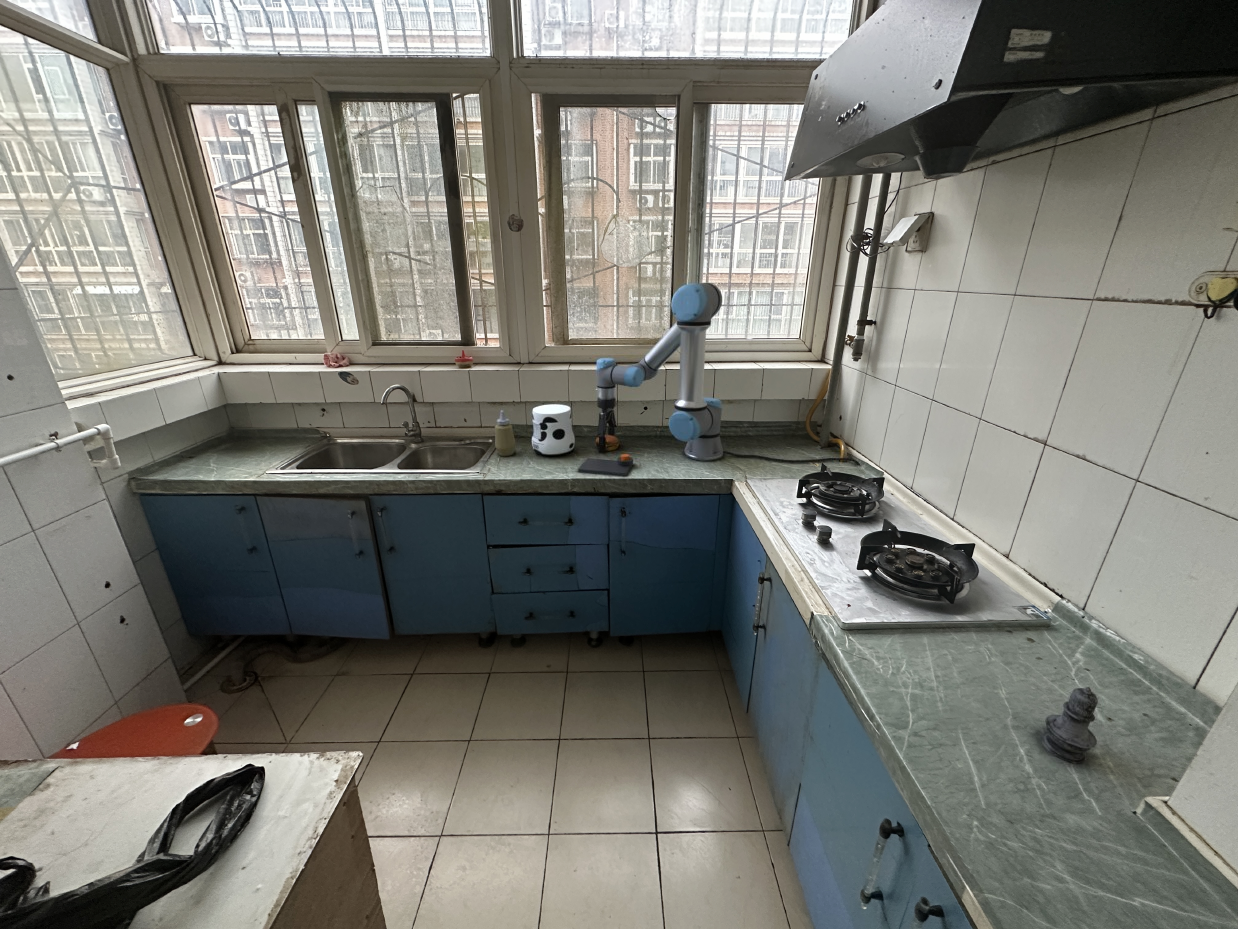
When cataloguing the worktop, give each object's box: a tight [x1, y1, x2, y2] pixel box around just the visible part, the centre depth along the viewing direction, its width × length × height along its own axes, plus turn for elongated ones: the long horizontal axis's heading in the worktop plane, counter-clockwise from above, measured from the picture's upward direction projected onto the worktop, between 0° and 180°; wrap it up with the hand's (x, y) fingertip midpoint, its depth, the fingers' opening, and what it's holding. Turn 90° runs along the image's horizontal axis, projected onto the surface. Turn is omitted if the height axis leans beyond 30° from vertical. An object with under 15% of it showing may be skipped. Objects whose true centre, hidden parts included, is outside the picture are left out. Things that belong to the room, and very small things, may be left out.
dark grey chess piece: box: [1040, 686, 1099, 765], centre depth 74 cm, size 6×6×12 cm
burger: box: [595, 434, 620, 452], centre depth 208 cm, size 10×9×5 cm
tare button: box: [620, 453, 630, 461], centre depth 187 cm, size 3×3×2 cm
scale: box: [577, 456, 634, 477], centre depth 186 cm, size 18×12×3 cm
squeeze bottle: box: [494, 410, 516, 457], centre depth 199 cm, size 8×8×18 cm
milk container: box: [531, 403, 576, 457], centre depth 201 cm, size 17×17×18 cm
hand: (607, 447), depth 209 cm, fingers open, 13 cm apart
